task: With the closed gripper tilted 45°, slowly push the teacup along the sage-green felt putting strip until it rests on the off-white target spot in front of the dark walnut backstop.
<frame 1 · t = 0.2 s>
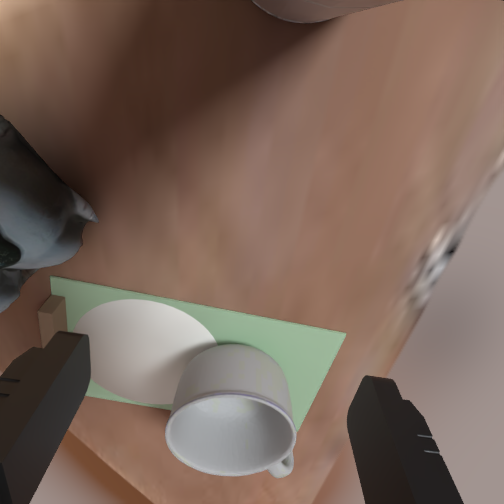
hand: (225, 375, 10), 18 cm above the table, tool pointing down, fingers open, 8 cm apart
putting green: (192, 363, 36), on the table
lucky cat figurine: (8, 194, 27), on the table
teacup: (244, 373, 37), resting on putting green
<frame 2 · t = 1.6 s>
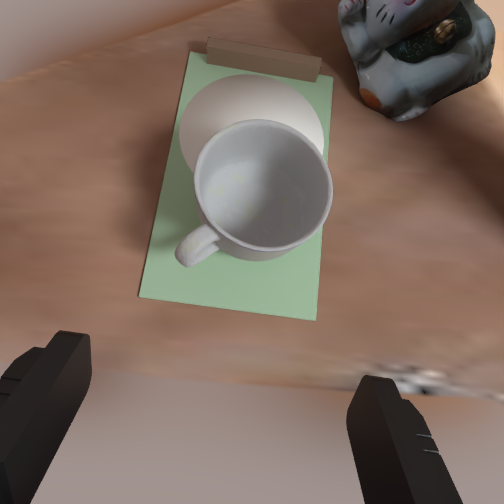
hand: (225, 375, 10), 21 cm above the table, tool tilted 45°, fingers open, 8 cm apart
putting green: (247, 175, 36), on the table
lucky cat figurine: (390, 73, 41), on the table
teacup: (240, 226, 34), resting on putting green
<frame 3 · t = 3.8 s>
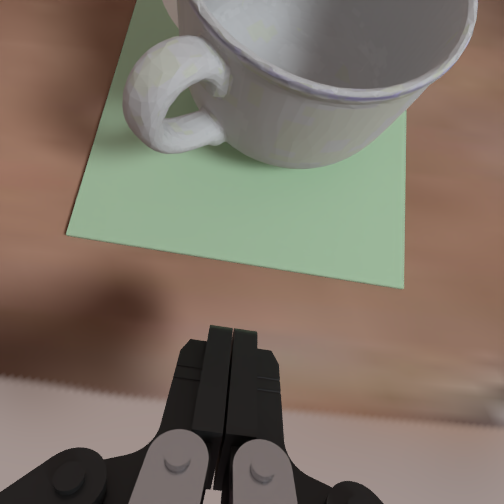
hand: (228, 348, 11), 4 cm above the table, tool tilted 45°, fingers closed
putting green: (273, 40, 21), on the table
teacup: (261, 120, 19), resting on putting green
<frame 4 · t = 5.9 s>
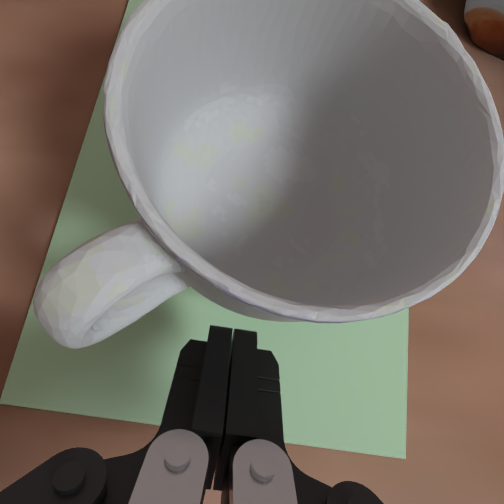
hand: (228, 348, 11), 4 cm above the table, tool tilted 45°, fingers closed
putting green: (257, 138, 18), on the table
teacup: (241, 233, 16), resting on putting green, touching gripper
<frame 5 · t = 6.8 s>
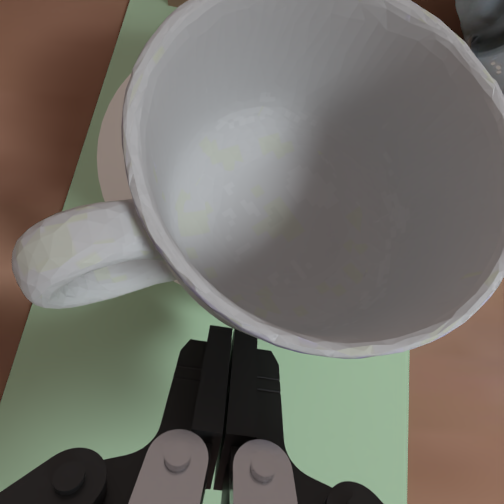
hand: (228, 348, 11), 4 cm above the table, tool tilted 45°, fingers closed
putting green: (242, 238, 16), on the table
teacup: (247, 242, 16), resting on putting green, touching gripper
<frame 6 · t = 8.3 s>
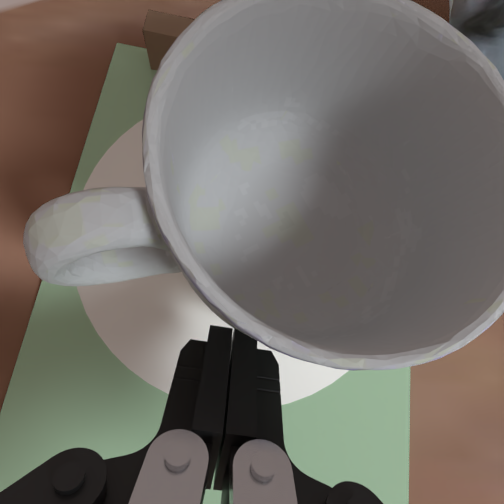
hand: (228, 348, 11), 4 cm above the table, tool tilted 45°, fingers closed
putting green: (229, 332, 15), on the table
teacup: (256, 243, 16), resting on putting green, touching gripper
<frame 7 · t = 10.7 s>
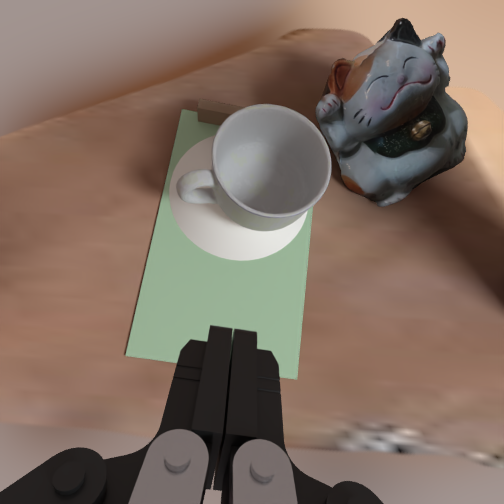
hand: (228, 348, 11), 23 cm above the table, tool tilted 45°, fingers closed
putting green: (234, 232, 37), on the table
lucky cat figurine: (369, 153, 42), on the table
teacup: (245, 197, 38), resting on putting green
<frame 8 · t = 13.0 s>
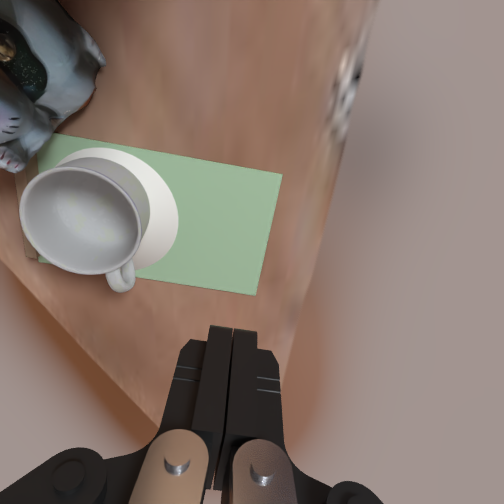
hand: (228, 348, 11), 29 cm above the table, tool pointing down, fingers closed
putting green: (152, 220, 41), on the table
lucky cat figurine: (32, 61, 34), on the table
teacup: (116, 209, 40), resting on putting green
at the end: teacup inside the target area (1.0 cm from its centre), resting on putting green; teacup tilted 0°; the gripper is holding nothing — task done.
